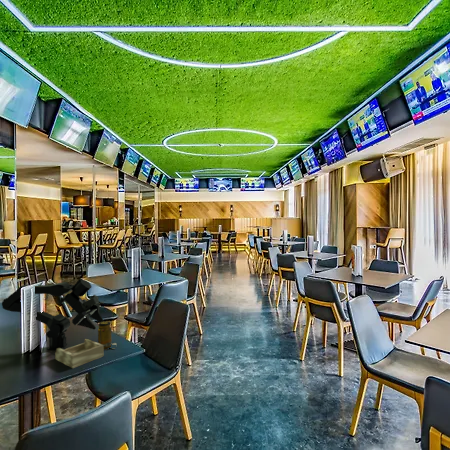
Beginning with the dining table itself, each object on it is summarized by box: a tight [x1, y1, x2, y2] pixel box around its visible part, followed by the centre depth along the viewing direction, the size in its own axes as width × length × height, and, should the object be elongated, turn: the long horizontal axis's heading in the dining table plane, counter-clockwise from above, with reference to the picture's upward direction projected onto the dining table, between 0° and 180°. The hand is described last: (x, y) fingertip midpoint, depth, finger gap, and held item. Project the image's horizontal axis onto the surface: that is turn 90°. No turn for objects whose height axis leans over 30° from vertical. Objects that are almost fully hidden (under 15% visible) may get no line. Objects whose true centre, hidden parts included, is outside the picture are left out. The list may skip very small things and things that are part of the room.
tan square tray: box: [54, 338, 105, 369], centre depth 136 cm, size 15×14×5 cm
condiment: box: [97, 320, 117, 351], centre depth 148 cm, size 7×8×12 cm
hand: (99, 325), depth 148 cm, fingers open, 9 cm apart
